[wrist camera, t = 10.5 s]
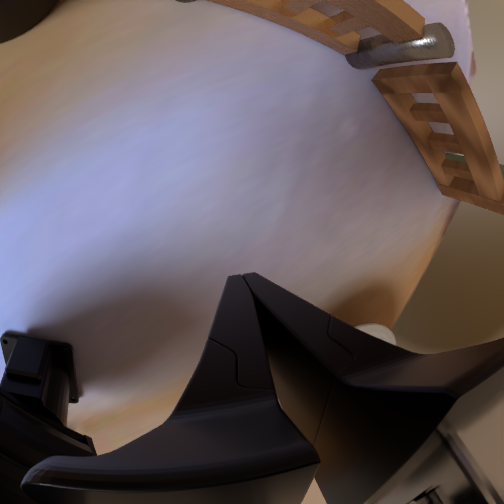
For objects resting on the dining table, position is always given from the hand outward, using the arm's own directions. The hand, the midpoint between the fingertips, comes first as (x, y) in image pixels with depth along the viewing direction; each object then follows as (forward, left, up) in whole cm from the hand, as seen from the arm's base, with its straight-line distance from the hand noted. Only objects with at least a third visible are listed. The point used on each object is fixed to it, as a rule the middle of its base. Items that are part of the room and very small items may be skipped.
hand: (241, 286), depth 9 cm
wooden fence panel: (+15, -3, -12) cm, 19 cm away
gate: (+11, -19, -11) cm, 25 cm away
